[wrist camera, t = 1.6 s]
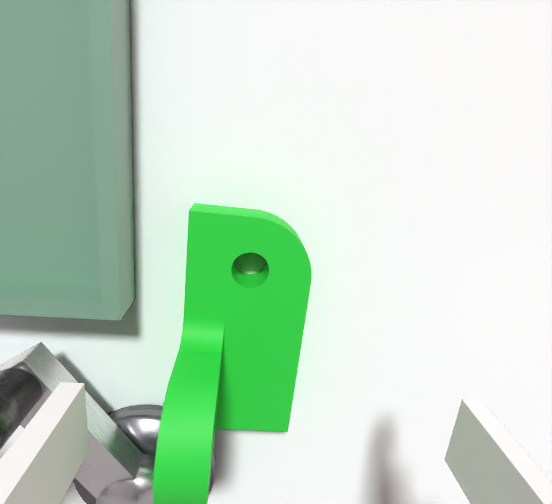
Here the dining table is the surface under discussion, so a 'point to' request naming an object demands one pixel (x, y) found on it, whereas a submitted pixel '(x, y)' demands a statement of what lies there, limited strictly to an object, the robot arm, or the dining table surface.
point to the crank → (101, 428)
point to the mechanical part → (231, 343)
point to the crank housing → (137, 436)
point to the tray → (66, 159)
